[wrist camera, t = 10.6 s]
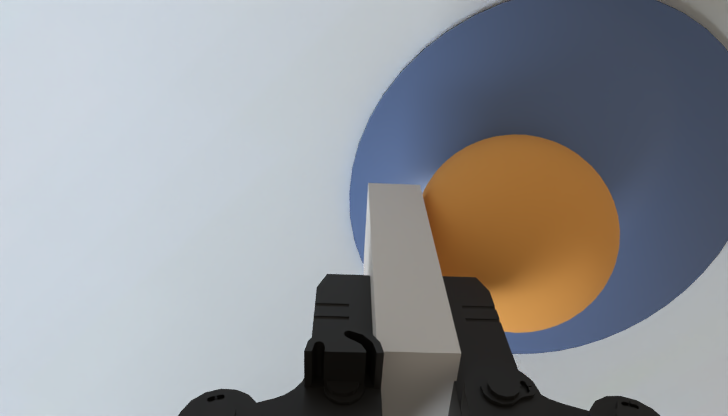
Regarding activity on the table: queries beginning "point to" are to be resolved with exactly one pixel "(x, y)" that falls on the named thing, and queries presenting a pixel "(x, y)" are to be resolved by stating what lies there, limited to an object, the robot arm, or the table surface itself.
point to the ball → (525, 227)
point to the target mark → (577, 133)
